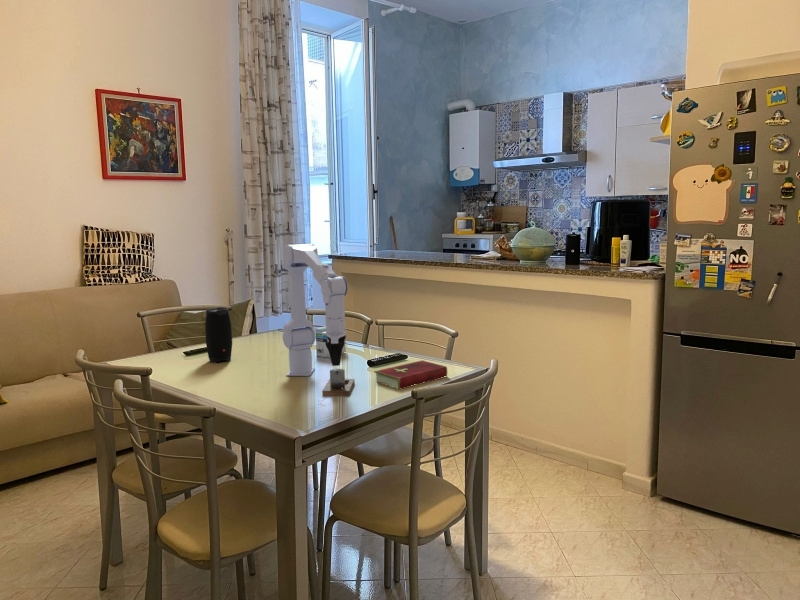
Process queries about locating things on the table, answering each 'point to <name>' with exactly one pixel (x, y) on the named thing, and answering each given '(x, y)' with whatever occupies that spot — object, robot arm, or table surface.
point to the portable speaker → (218, 334)
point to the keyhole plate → (339, 392)
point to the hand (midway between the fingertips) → (336, 362)
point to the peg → (337, 378)
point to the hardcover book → (410, 374)
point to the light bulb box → (323, 343)
